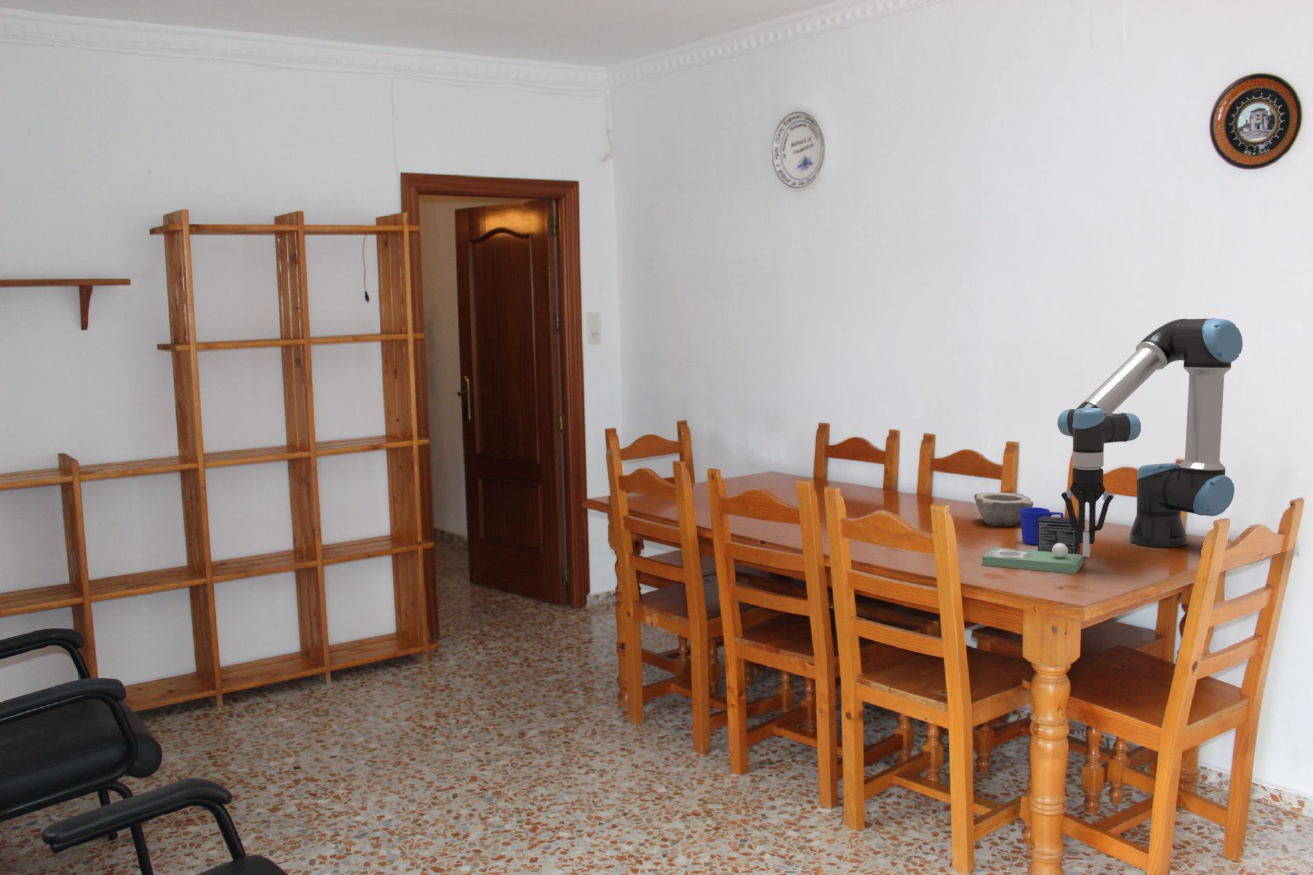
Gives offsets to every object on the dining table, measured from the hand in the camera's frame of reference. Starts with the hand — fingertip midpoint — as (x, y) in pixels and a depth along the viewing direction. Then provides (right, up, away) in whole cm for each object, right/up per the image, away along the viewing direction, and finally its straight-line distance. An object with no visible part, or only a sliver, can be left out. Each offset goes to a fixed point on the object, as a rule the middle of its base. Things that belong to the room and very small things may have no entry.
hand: (1086, 555), depth 278 cm
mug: (0, 0, +33) cm, 33 cm away
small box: (-1, -2, +17) cm, 17 cm away
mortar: (-2, +3, +61) cm, 61 cm away
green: (-12, -3, +7) cm, 14 cm away
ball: (-6, +1, +3) cm, 7 cm away
